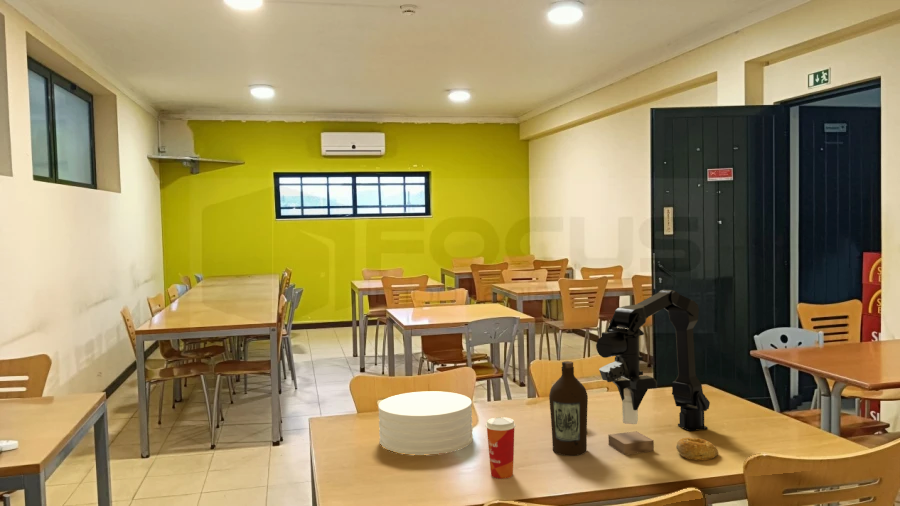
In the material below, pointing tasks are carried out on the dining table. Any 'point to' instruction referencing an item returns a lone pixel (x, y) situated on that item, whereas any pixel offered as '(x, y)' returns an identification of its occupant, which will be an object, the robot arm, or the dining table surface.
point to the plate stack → (425, 422)
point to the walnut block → (631, 442)
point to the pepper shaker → (629, 409)
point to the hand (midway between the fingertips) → (630, 407)
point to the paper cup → (501, 446)
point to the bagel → (696, 449)
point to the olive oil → (568, 413)
